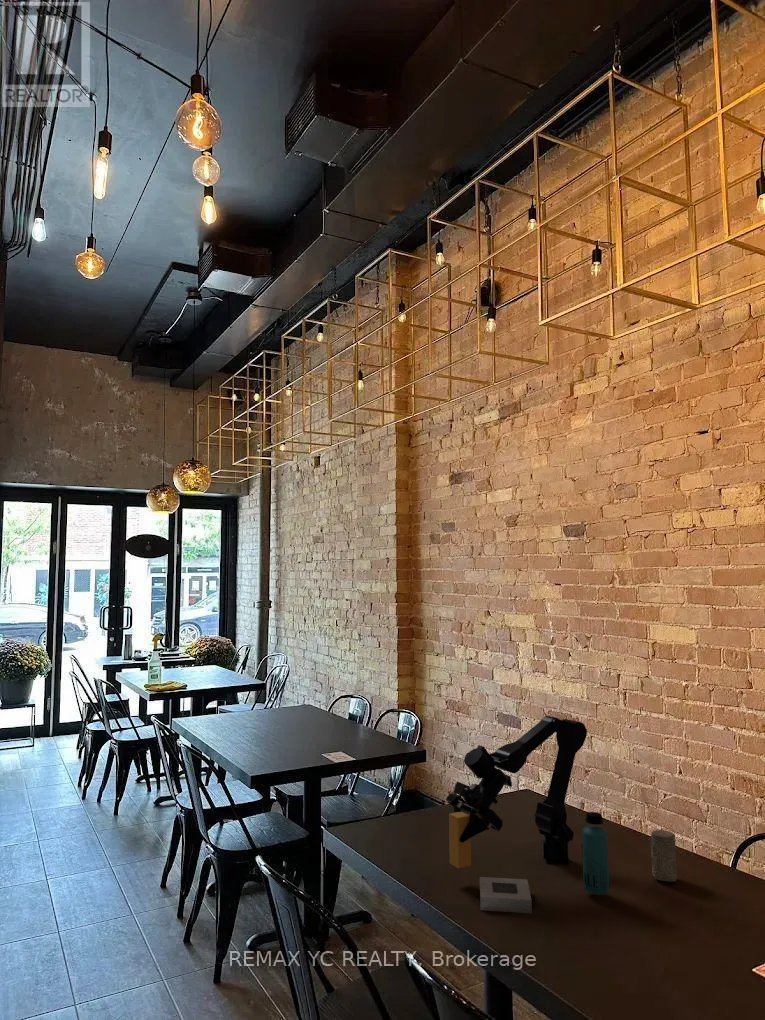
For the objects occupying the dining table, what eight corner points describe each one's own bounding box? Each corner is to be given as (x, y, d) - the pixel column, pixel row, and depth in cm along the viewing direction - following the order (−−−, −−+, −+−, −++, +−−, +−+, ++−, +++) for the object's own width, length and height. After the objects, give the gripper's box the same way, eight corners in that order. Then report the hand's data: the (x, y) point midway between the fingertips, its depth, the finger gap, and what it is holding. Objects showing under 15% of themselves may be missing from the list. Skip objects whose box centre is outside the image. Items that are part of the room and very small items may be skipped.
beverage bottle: (610, 892, 177) (607, 810, 180) (609, 903, 171) (607, 818, 173) (583, 889, 179) (581, 807, 182) (582, 899, 173) (580, 815, 175)
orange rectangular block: (462, 860, 185) (461, 811, 187) (470, 865, 182) (470, 815, 183) (449, 863, 184) (449, 813, 185) (458, 868, 180) (457, 818, 181)
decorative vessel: (678, 876, 188) (676, 830, 189) (677, 887, 181) (675, 838, 182) (653, 872, 190) (651, 826, 192) (651, 882, 183) (649, 835, 185)
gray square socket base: (527, 892, 177) (527, 879, 178) (531, 913, 165) (531, 900, 166) (479, 889, 179) (479, 876, 179) (480, 910, 167) (480, 896, 167)
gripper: (451, 762, 195) (418, 809, 189) (493, 778, 179) (458, 830, 173) (474, 788, 198) (442, 835, 192) (517, 805, 182) (484, 857, 176)
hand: (455, 838), depth 183 cm, fingers closed on orange rectangular block, 4 cm apart
